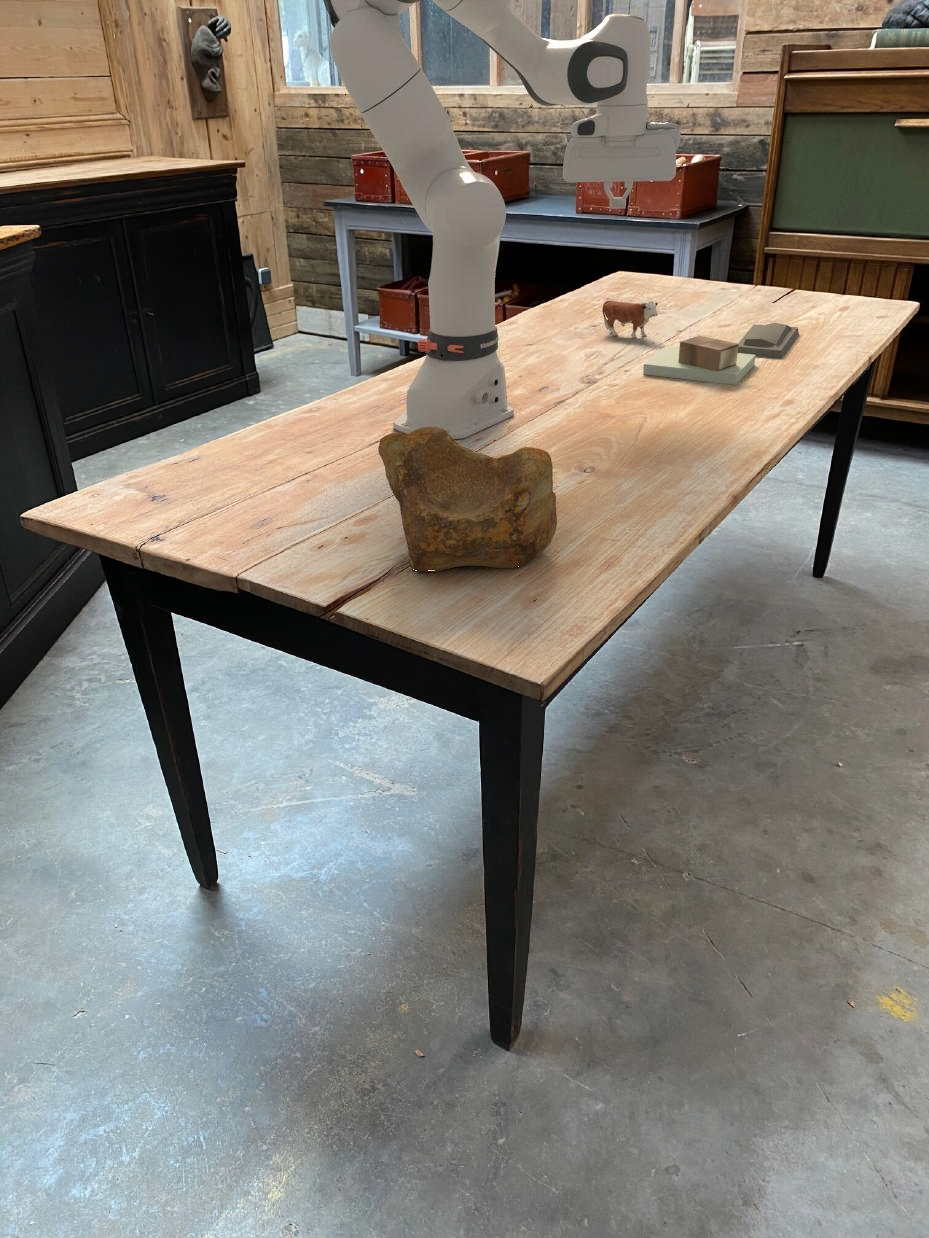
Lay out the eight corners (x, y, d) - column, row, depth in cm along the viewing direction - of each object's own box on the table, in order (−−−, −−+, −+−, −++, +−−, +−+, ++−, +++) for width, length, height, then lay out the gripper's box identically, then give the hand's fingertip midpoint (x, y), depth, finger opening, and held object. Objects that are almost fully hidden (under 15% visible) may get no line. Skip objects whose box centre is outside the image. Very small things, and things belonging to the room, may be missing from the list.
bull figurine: (652, 342, 201) (655, 303, 197) (598, 334, 209) (599, 296, 204) (662, 338, 204) (665, 299, 200) (608, 330, 211) (609, 293, 207)
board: (736, 385, 174) (737, 374, 173) (643, 374, 182) (643, 364, 181) (754, 365, 185) (755, 354, 184) (665, 355, 192) (666, 346, 191)
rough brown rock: (344, 577, 116) (330, 469, 108) (400, 513, 129) (392, 412, 120) (520, 613, 109) (520, 501, 100) (562, 542, 121) (565, 437, 113)
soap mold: (799, 337, 204) (801, 320, 202) (782, 361, 189) (784, 343, 187) (751, 333, 208) (753, 316, 206) (730, 356, 193) (732, 339, 191)
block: (678, 362, 181) (718, 372, 175) (680, 341, 179) (720, 350, 173) (697, 356, 184) (737, 365, 178) (699, 335, 182) (739, 344, 176)
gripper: (681, 121, 166) (675, 205, 173) (566, 123, 170) (564, 206, 177) (681, 123, 161) (674, 210, 168) (562, 126, 165) (560, 211, 172)
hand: (617, 208), depth 173 cm, fingers closed
